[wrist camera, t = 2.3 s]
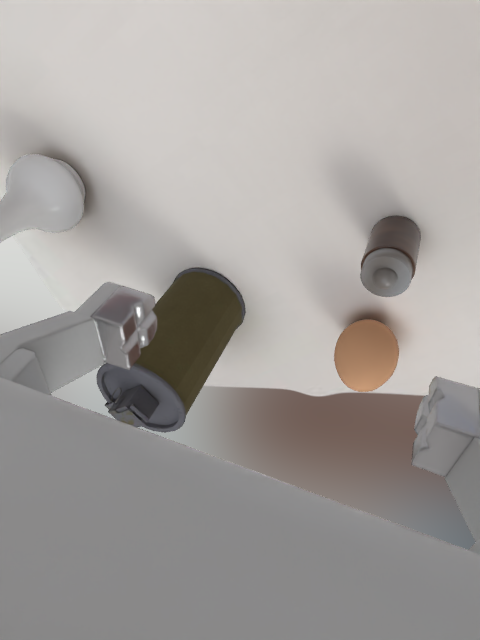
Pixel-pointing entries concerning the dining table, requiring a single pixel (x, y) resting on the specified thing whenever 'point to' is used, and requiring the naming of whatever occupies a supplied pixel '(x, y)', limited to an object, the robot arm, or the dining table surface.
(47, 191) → the flower vase
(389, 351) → the egg
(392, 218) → the pepper shaker
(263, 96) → the dining table surface
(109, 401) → the canister
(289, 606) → the robot arm
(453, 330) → the dining table surface
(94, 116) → the dining table surface
